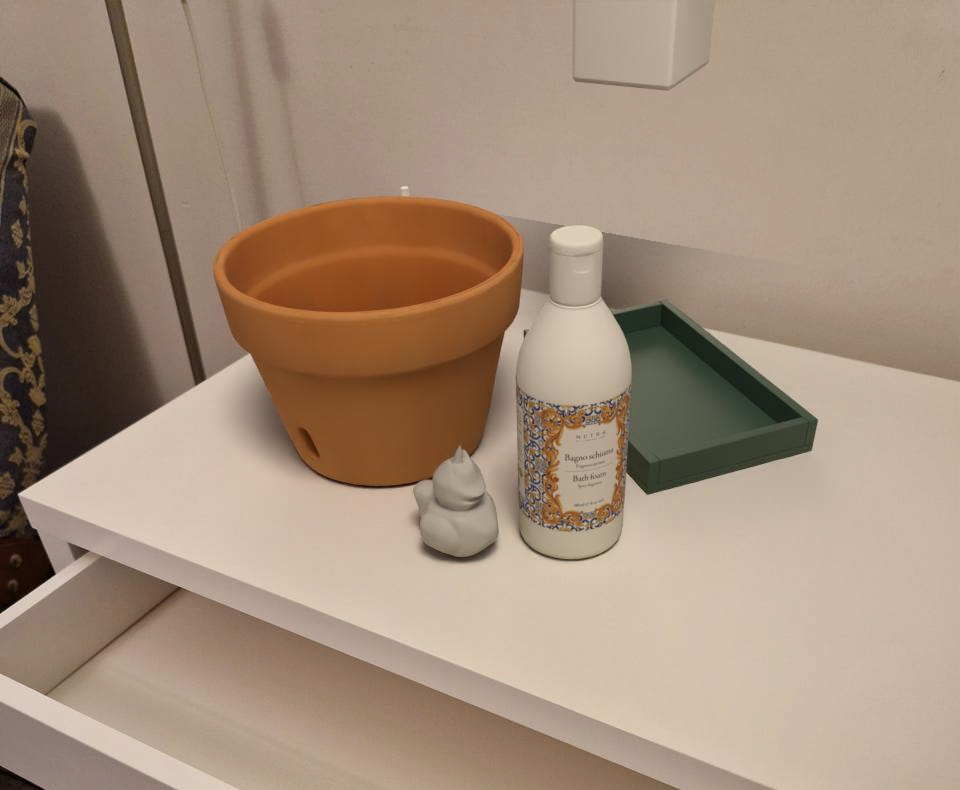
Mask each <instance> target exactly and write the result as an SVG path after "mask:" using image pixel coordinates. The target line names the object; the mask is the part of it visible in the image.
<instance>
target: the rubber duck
mask: <svg viewBox="0 0 960 790" xmlns="http://www.w3.org/2000/svg"><path fill="white" fill-rule="evenodd" d="M486 487H487V486H486V482H485V479H484V476H483V474H482V471H481V469H480V467H479V466H478V465H477V464H476V462H475V461H474V460H473V459H472V458H471V457H470V455H468V454H467V452H466V451H465V450H464V449H463V450H462V449H461V446H459V447H458V449H457V451H456V453H455V455H454V457H452V458H450V459H447V460H446V461H444V462H443V463H442V464H441V465H440V466H439V467H438V468H437V469H436V470H435V472H434V474H433V477H432V480H431V479H424V480H420V481H417V482H416V484H415V485H414V486H413V488H412V492H413V494H412V495H413V497H414V499H415V501H416V505H417V508H418V515H419V517H420V521H419V532H420V537H421V539H422V541H423V542H424V544H425V545H427V546H429V547H431V548H432V549H435V550H436V551H438V552H440V553H443V554H448V555H450V556H453V557H457V558H466V557H470V556H473V555H476V554H478V553H480V552H482V551H483V550H485V549H486V548H488V547H489V546H490V545H491V544H493V543H494V542H495V541H496V540H497V539H498V537H499V530H500V529H499V520H498V515H497V514H498V513H497V508H496V504H495V501H494V499H493V497H492V496H491V494H490V493H489V492H488V491H486Z"/></svg>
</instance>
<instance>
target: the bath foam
mask: <svg viewBox="0 0 960 790" xmlns="http://www.w3.org/2000/svg"><path fill="white" fill-rule="evenodd" d="M548 241H549V244H548V245H549V250H548V251H549V253H548V254H549V257H548V258H549V263H548V264H549V265H548V266H549V267H548V269H549V271H548V272H549V278H548V279H549V280H548V282H549V283H548V285H549V286H548V287H549V297H548V299H547V300H546V302H545V304H544V305H543V307H542V308H541V309H540V311H539V312H538V314H537V316H535V318H534V320H533V321H532V323H531V325H530V326H529V328H528V329H529V330H528V332H527V333H526V336H525V338H524V337H523V340H522V343H521V345H520V349H519V352H518V357H517V361H516V371H515V400H516V401H515V403H516V404H515V409H516V411H515V412H516V440H517V441H516V447H517V449H516V450H517V489H518V493H517V494H518V518H519V519H518V521H519V522H518V523H519V531H520V535H521V536H522V538H523V540H524V541H525V543H526V544H528V546H529V547H531V548H532V549H533V550H535V551H537V552H539V553H540V554H542V555H545V556H547V557H551V558H555V559H562V560H580V559H581V560H582V559H587V558H592V557H595V556H597V555H600V554H602V553H604V552H606V551H607V550H609V549H610V548H611V547H613V546H614V544H616V542H617V541H618V540H619V538H620V536H621V534H622V532H623V531H622V530H623V525H624V524H623V523H624V510H625V508H624V507H625V500H626V499H625V498H626V497H625V496H626V481H627V471H626V468H627V452H628V436H629V420H630V404H631V388H632V366H631V358H630V352H629V348H628V345H627V342H626V339H625V336H624V334H623V332H622V330H621V328H620V326H619V324H618V323H617V321H616V319H615V318H614V316H613V315H612V313H611V312H610V311H611V310H610V309H609V307H608V305H607V304H606V302H605V300H604V299H603V297H602V286H603V285H602V283H603V282H602V281H603V259H604V258H603V257H604V235H603V233H602V232H601V230H599V228H596V227H593V226H589V225H583V224H582V225H581V224H580V225H579V224H573V225H566V226H562V227H559V228H557V229H555V230H553V232H551V233H550V236H549V240H548Z"/></svg>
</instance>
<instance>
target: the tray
mask: <svg viewBox="0 0 960 790" xmlns="http://www.w3.org/2000/svg"><path fill="white" fill-rule="evenodd" d="M610 312H611V313H612V315H613V316H614V318H615V319H616V321H617V323H618V324H619V326H620V328H621V330H622V332H623V334H624V336H625V339H626V342H627V345H628V348H629V352H630V358H631V366H632V388H631V404H630V420H629V436H628V452H627V468H626V473H627V474H628V475H629V476H630V477H631V478H632V479H633V480H634V481H635V482H636V484H637V485H638V486H639V487H640V488H641V490H643V492H644V493H646V495H649V494H653V493H657V492H662V491H665V490H669V489H672V488H677V487H680V486H683V485H684V486H685V485H687V484H690V483H694V482H698V481H702V480H703V481H704V480H706V479H710V478H714V477H717V476H721V475H725V474H729V473H732V472H737V471H741V470H743V469H747V468H751V467H754V466H758V465H762V464H766V463H769V462H773V461H776V460H777V461H778V460H781V459H784V458H788V457H792V456H795V455H799V454H803V453H806V452H810V451H812V450H813V447H814V442H815V438H816V433H817V428H818V423H819V419H818V418H817V417H816V416H814V414H812V413H810V411H808V410H807V409H806V408H804V407H803V406H802V405H801V404H799V403H798V402H797V401H796V400H795V399H793V398H792V397H791V396H789V395H788V393H786V392H785V391H783V390H782V389H781V388H779V387H778V386H777V385H776V384H774V383H773V382H772V381H770V380H769V379H768V378H766V377H765V376H764V375H763V374H762V373H761V372H759V370H756V369H755V368H754V367H753V366H752V365H750V364H749V363H748V362H746V361H745V360H744V359H743V358H742V357H741V356H739V355H737V354H736V352H734V351H732V350H731V348H729V347H728V346H726V345H725V344H724V343H722V342H721V341H720V340H719V339H718V338H716V337H715V336H714V335H713V334H711V333H710V332H709V331H707V330H706V329H705V328H704V327H703V326H701V324H699V323H698V322H696V321H695V320H694V319H693V318H691V317H690V316H688V315H687V314H686V313H685V312H683V311H682V310H681V309H680V308H679V307H678V306H676V305H675V304H673V303H672V302H671V301H670V300H668V299H667V298H665V299H659V300H655V301H650V302H646V303H641V304H637V305H632V306H628V307H622V308H617V309H614V310H610ZM528 330H529V328H527V329H523V339H524V338H525V336H526V333H527V332H528Z"/></svg>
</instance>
